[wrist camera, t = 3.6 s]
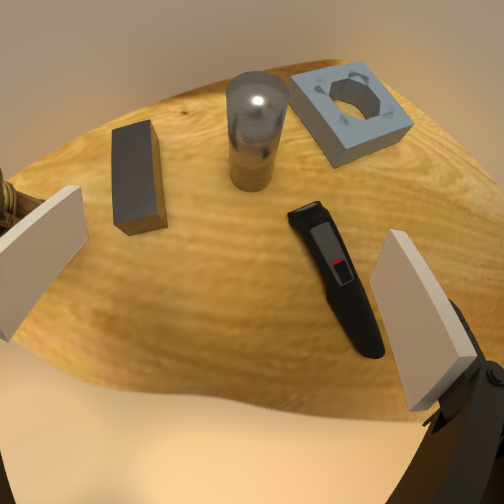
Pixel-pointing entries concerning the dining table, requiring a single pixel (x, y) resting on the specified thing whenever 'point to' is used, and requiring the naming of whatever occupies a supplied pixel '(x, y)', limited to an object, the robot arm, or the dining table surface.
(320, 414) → the dining table surface
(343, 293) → the electric trimmer
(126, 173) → the square bar
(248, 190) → the ball
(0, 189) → the wooden mug
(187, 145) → the dining table surface
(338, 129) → the bore block
